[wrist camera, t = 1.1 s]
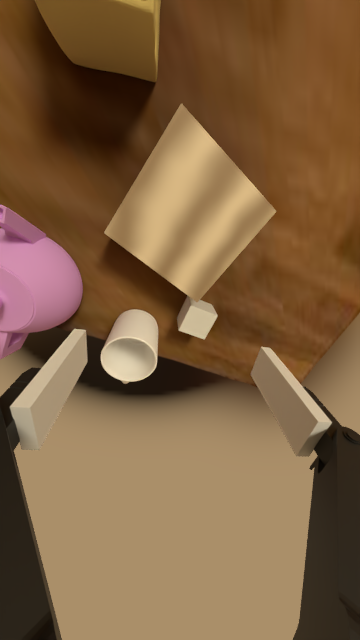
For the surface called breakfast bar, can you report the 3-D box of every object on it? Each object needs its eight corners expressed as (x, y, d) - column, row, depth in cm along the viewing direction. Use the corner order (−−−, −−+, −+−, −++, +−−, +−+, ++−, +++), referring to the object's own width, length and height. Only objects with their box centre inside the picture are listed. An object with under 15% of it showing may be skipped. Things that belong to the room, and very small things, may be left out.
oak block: (113, 230, 32) (103, 232, 26) (177, 126, 27) (181, 103, 21) (192, 290, 37) (197, 302, 32) (257, 212, 32) (276, 211, 27)
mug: (149, 363, 44) (145, 401, 34) (109, 355, 42) (94, 394, 33) (162, 313, 39) (162, 343, 30) (118, 303, 37) (103, 331, 28)
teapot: (76, 343, 40) (44, 388, 30) (-15, 319, 37) (-88, 361, 26) (99, 228, 32) (67, 234, 21) (-16, 184, 28) (-127, 163, 17)
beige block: (176, 317, 39) (178, 330, 35) (187, 294, 38) (190, 305, 33) (199, 326, 41) (204, 339, 36) (211, 304, 39) (217, 315, 34)
